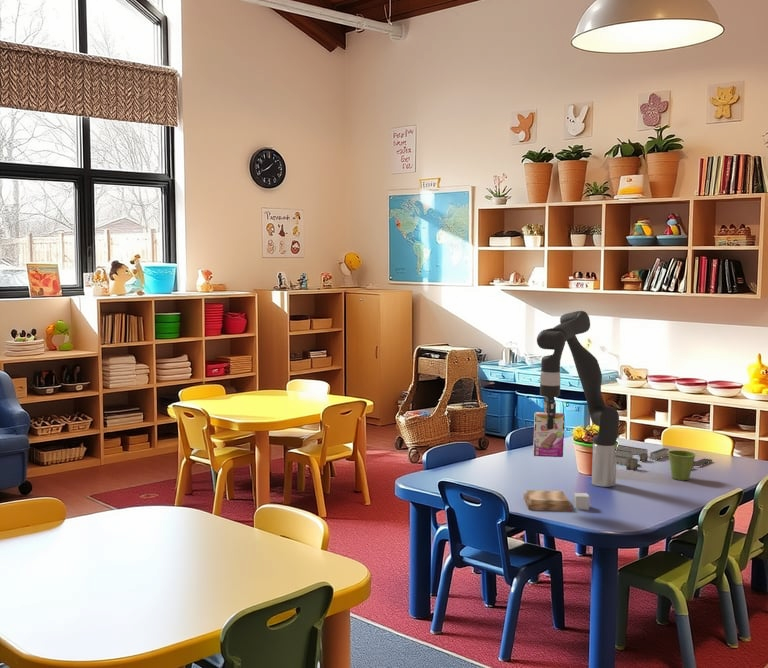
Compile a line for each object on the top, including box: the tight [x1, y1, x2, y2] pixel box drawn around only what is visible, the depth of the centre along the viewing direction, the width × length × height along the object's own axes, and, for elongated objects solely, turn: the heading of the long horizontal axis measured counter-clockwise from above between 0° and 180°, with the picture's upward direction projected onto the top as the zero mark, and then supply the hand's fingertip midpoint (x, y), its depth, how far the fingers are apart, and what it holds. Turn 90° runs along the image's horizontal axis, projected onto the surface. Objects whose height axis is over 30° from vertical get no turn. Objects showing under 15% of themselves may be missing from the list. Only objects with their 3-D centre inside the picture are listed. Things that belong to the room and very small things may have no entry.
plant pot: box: [667, 449, 697, 481], centre depth 382 cm, size 12×12×11 cm
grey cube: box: [573, 492, 591, 510], centre depth 336 cm, size 5×5×5 cm
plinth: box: [523, 489, 573, 512], centre depth 339 cm, size 16×16×4 cm
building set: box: [615, 444, 713, 471], centre depth 414 cm, size 45×43×5 cm
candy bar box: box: [532, 411, 565, 458], centre depth 337 cm, size 11×5×16 cm, turn 84°
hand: (549, 427), depth 337 cm, fingers closed on candy bar box, 5 cm apart
